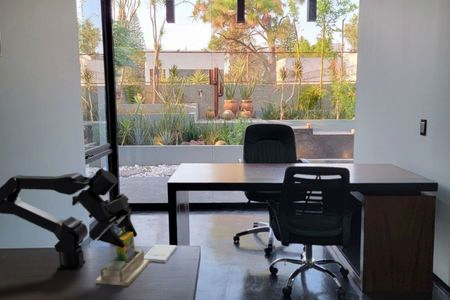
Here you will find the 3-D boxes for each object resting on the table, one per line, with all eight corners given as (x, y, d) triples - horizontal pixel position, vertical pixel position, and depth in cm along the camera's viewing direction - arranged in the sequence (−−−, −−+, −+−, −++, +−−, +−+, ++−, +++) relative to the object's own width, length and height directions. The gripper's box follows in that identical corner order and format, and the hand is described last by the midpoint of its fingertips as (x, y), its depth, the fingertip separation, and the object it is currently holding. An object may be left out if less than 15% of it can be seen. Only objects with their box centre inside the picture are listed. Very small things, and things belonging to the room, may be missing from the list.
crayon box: (126, 270, 124) (123, 233, 123) (117, 270, 125) (113, 233, 123) (136, 260, 131) (132, 226, 130) (127, 260, 132) (124, 226, 130)
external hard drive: (177, 249, 145) (165, 264, 133) (155, 248, 146) (141, 262, 134) (177, 245, 144) (165, 259, 132) (155, 244, 146) (141, 257, 134)
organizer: (96, 283, 119) (95, 266, 118) (120, 260, 134) (119, 246, 134) (128, 285, 117) (127, 269, 116) (149, 262, 132) (148, 248, 132)
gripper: (96, 195, 116) (134, 235, 116) (124, 181, 134) (157, 215, 134) (73, 221, 119) (110, 259, 118) (103, 203, 137) (136, 237, 137)
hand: (130, 241), depth 127 cm, fingers open, 9 cm apart
